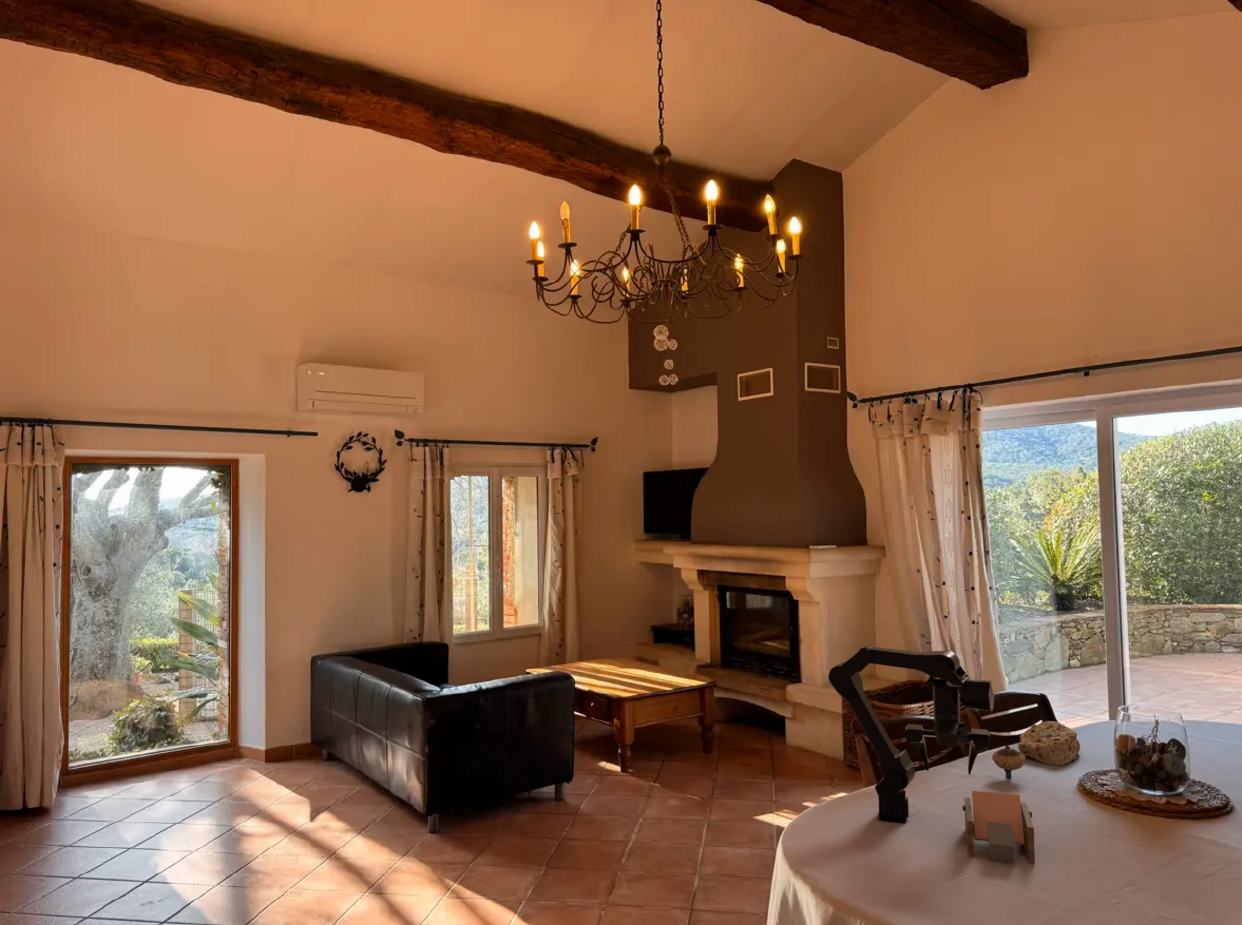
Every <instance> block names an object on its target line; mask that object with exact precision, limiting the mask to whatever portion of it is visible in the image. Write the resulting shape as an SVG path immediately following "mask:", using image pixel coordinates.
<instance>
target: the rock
mask: <svg viewBox="0 0 1242 925" xmlns="http://www.w3.org/2000/svg"><path fill="white" fill-rule="evenodd" d="M1077 737H1078V733H1077V732H1075V730H1073V729H1072V728H1070V727H1069V726H1066V725H1065V724H1062V723H1061V722H1058V721H1055V720H1054V721H1053V720H1052V721H1051V720H1046V721H1042V722H1041V723H1040V724H1032V725H1031V726H1030V727H1029V728H1027V730H1026V731H1024V732H1023V733H1021V734H1020V736H1019V742H1018V745H1017V748H1018V752H1020V753H1022V754H1023V755H1024V756H1027V757H1029V758H1031V759H1035V760H1036V761H1037V762H1038V761H1039V762H1041V763H1044V764H1045V765H1048V766H1055V767H1058V766H1059V767H1062V766H1063V765H1066V764H1068V763H1071V762H1072V761H1073V760H1075V759H1076V758H1077V754H1079V753H1080V750H1081V743H1080V741H1079V740H1078V738H1077Z"/></svg>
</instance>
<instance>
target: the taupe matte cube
mask: <svg viewBox="0 0 1242 925" xmlns="http://www.w3.org/2000/svg"><path fill="white" fill-rule="evenodd" d="M986 842H987V850H988V851H987V853H988V861H989V862H996V863H1003V864H1016V862H1015V860H1016V856H1015V855H1016V853H1015V852H1016V846H1015V845H1016V844H1014V836H1013V828H1012V824H1004V823H994V822H987V841H986Z"/></svg>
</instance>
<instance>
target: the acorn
mask: <svg viewBox="0 0 1242 925" xmlns="http://www.w3.org/2000/svg"><path fill="white" fill-rule="evenodd" d="M1005 745H1006V746H1004V748H1001V749H998V750H997V751H995V752H994V753H992V756H991V759H992V760H993V762H994V764H995V765H996V766H997V767H998V768H1000V769H1003V770H1004V772H1005V779H1006V780H1009V781H1010V780H1013V778H1012V772H1013V771H1016V770H1019V769H1021V768H1022V767H1023V766H1024V765H1025V762H1026V757H1025V756H1026V755H1023V754H1022V753H1020V751H1019V750H1016V749H1014V748H1011V747H1010V745H1009V743H1008V742H1006V743H1005Z"/></svg>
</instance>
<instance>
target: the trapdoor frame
mask: <svg viewBox="0 0 1242 925" xmlns="http://www.w3.org/2000/svg"><path fill="white" fill-rule="evenodd" d="M963 798H964V799H963V800H964V804H962V812H963V811H964V825H965V826H964V827H965V829H964V830H965V837H966V840H965V841H966V848H967V856H968V857H973V858H975V842H974V840H975V835H974V817H973V809H972V803H971V802H972V801H971V798H970V797H966V796H965V797H963ZM1020 803H1021V814H1022V824H1023V834H1024V845H1023V846H1024V850H1025V854H1026V856H1027V857H1026V858H1027V860H1028V864H1032V865H1033V864H1034V865H1035V864H1036V855H1035V854H1036V852H1035V850H1036V849H1035V829H1034V828H1035V827H1034V824H1033V821H1032V818H1033V812H1032V811H1029V807H1028V804H1027V803H1026V802H1020Z"/></svg>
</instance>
